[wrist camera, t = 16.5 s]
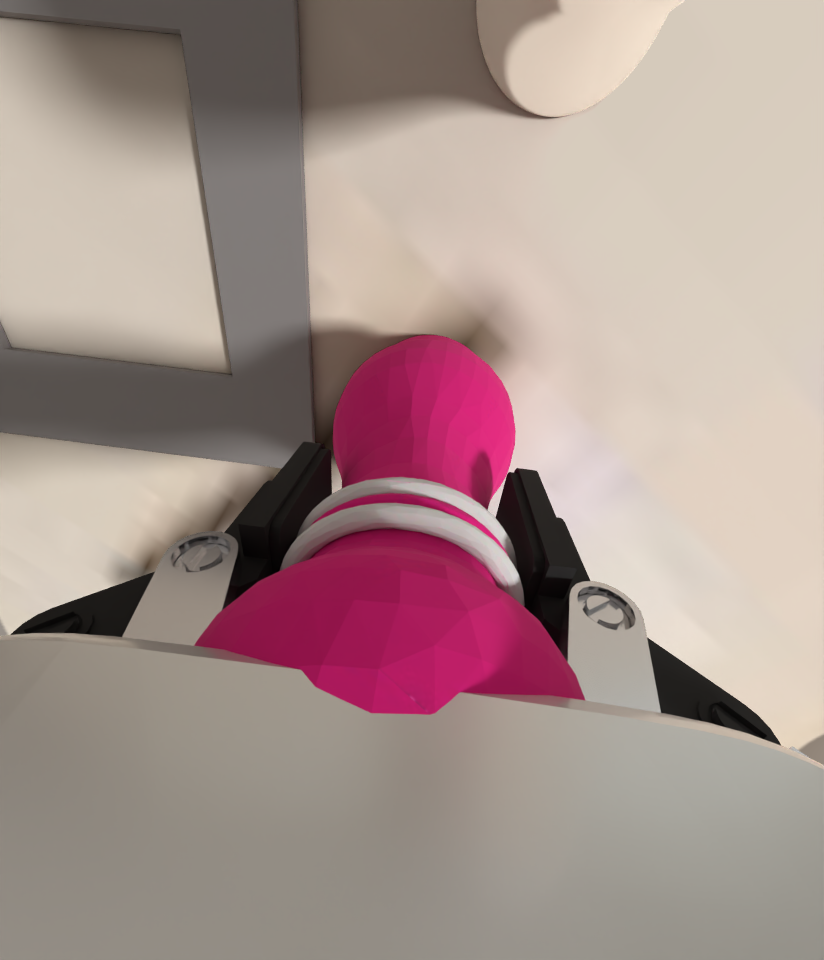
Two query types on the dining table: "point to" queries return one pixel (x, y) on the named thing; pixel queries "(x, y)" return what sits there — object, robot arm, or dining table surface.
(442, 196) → the dining table surface
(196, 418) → the letter o mat
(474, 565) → the pepper mill
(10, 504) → the dining table surface
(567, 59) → the beer glass
